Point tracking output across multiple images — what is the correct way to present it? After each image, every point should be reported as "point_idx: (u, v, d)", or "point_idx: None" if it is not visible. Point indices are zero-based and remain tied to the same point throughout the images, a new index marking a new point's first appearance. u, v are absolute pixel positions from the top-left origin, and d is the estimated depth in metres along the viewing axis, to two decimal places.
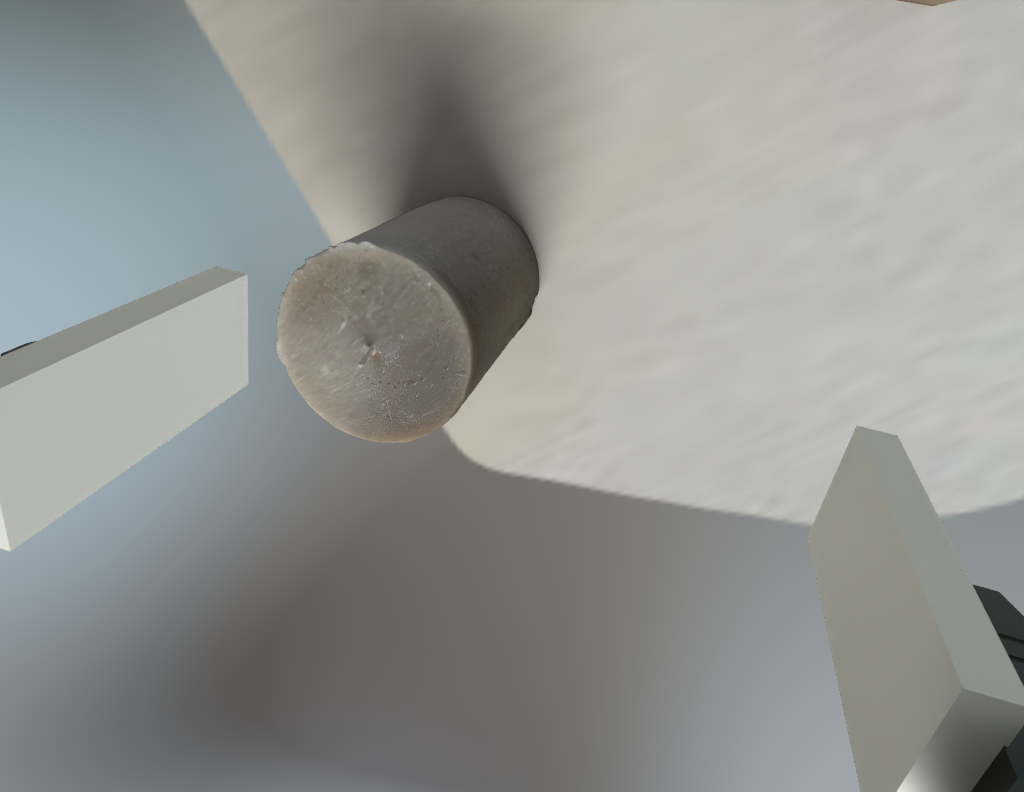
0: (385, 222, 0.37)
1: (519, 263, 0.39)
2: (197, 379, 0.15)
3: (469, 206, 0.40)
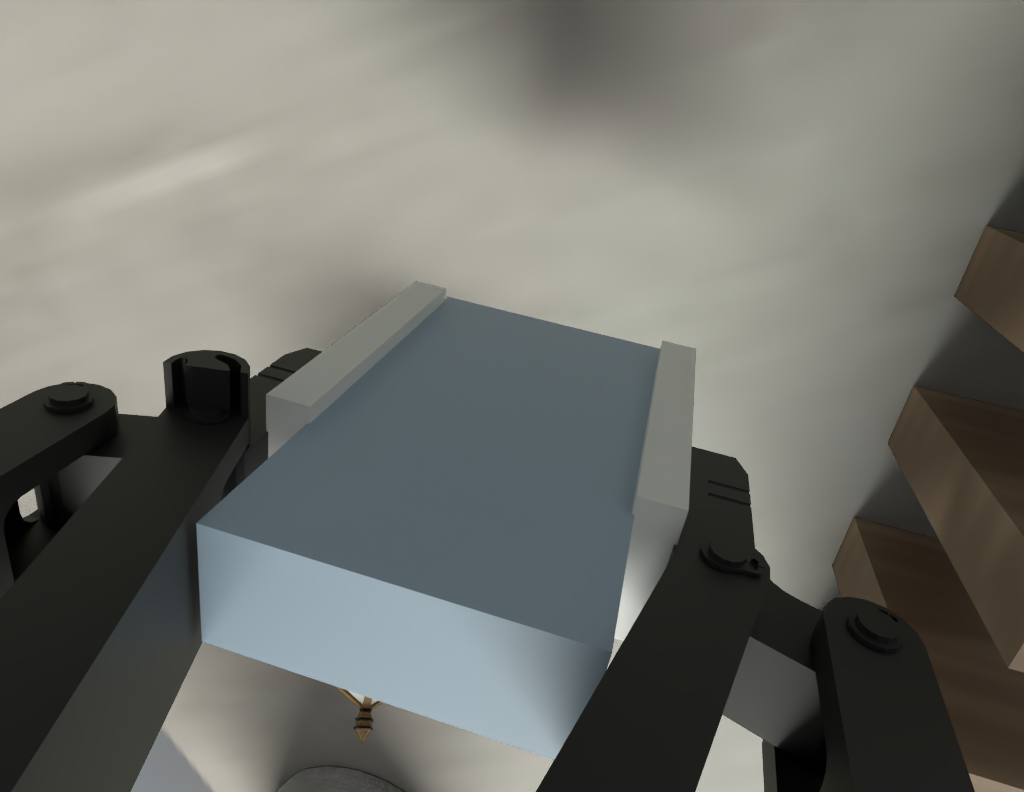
0: None
1: None
2: None
3: None
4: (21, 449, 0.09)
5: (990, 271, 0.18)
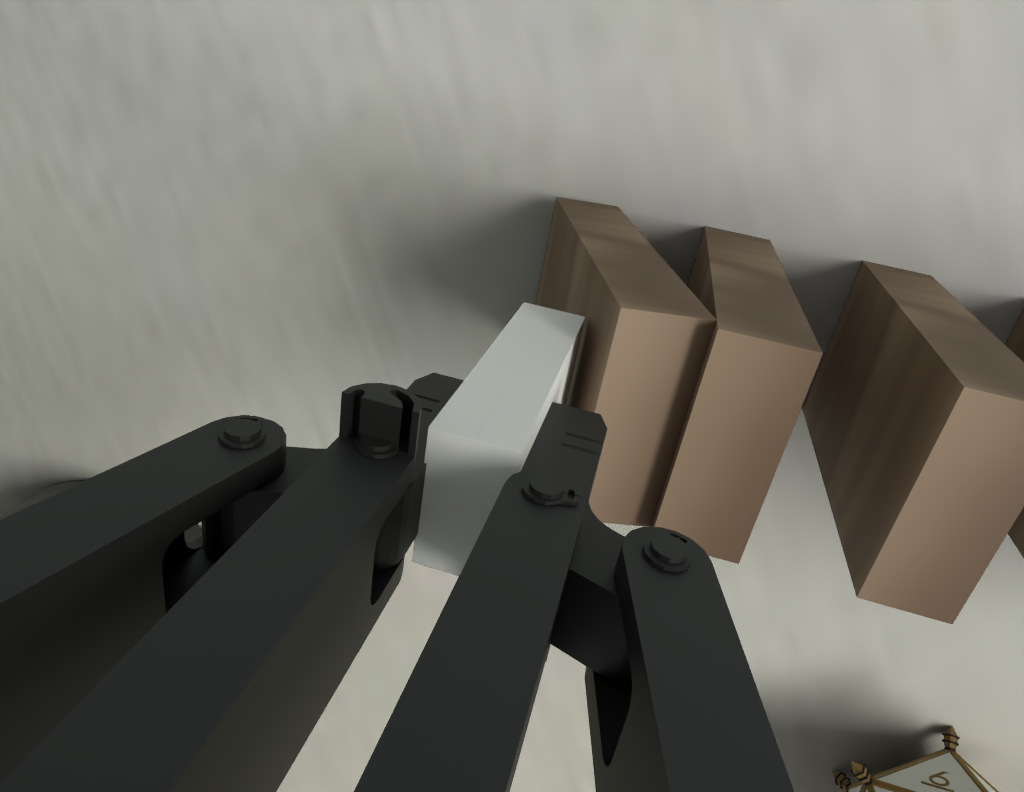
0: None
1: None
2: None
3: None
4: (189, 484, 0.09)
5: None
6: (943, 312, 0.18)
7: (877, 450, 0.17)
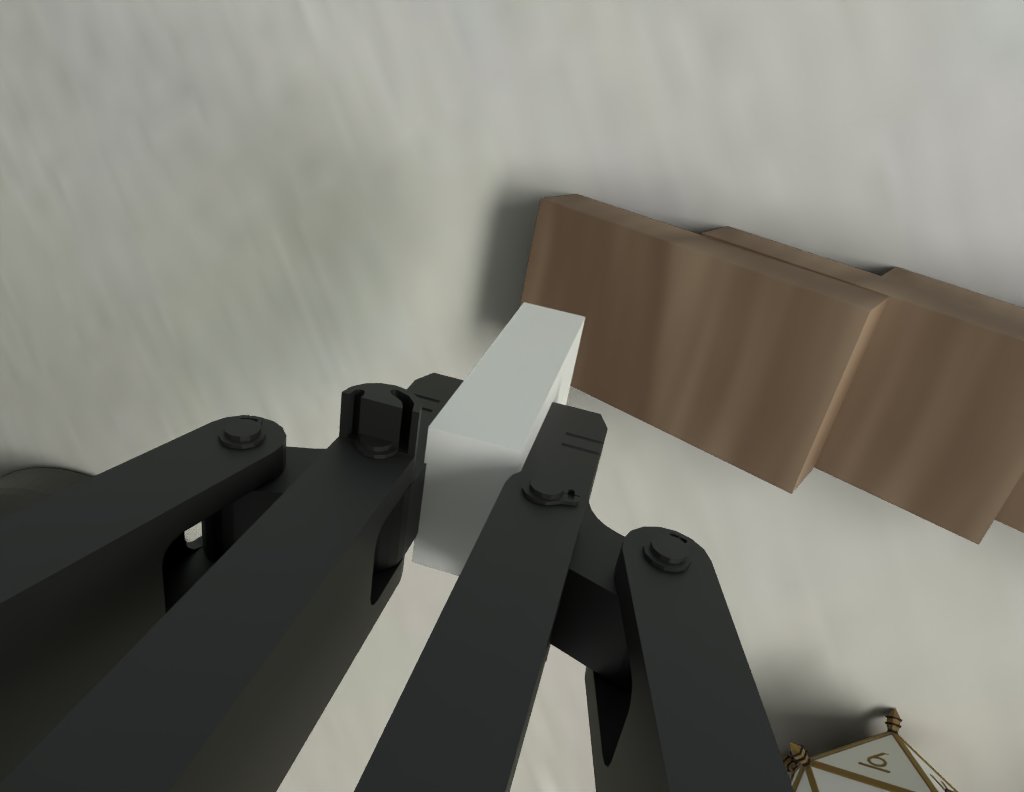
0: None
1: None
2: None
3: None
4: (189, 484, 0.09)
5: None
6: None
7: None
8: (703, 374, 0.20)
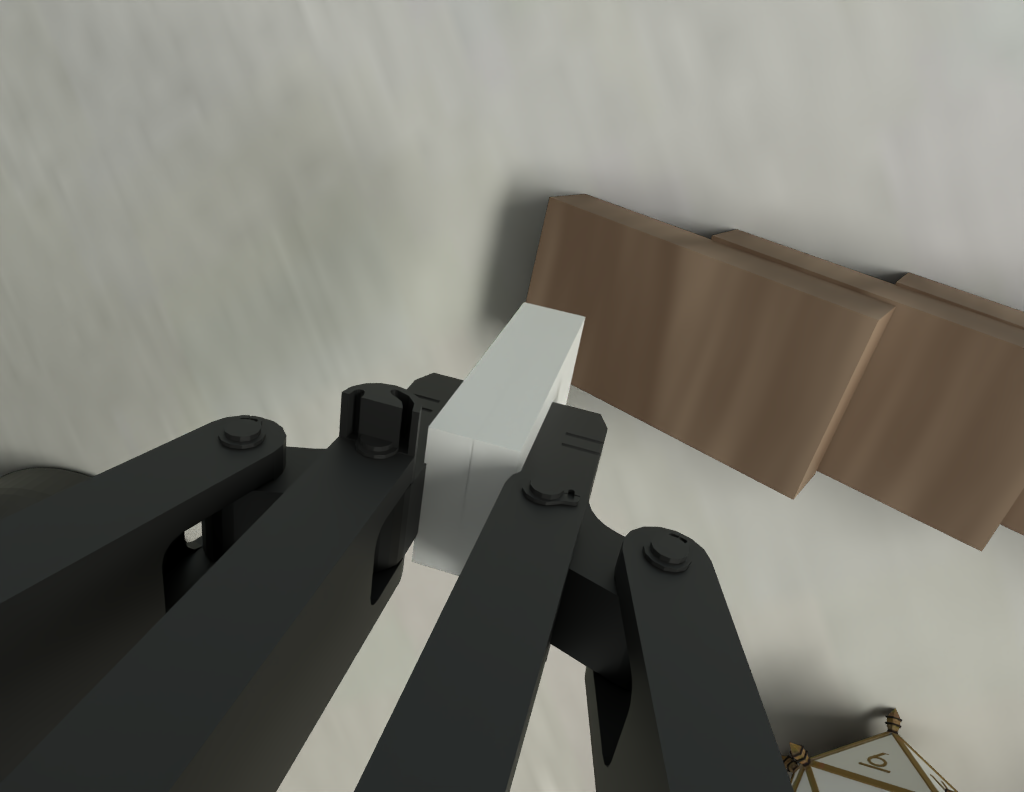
0: None
1: None
2: None
3: None
4: (189, 484, 0.09)
5: None
6: None
7: None
8: (708, 378, 0.20)
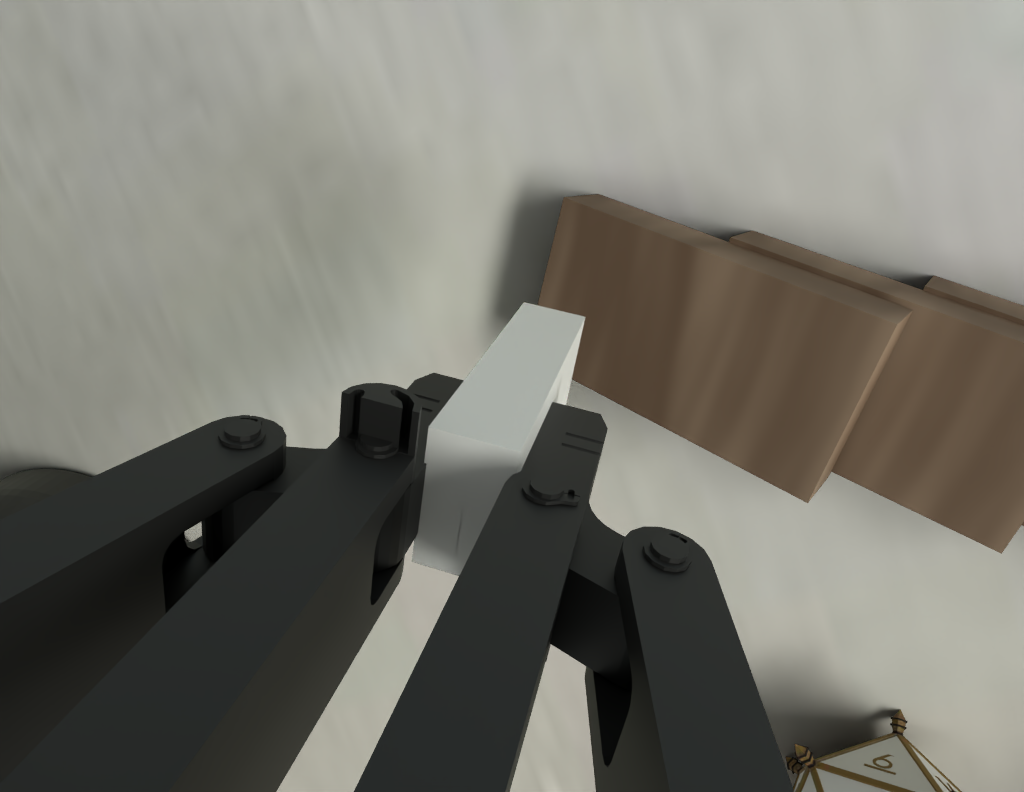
0: None
1: None
2: None
3: None
4: (189, 484, 0.09)
5: None
6: None
7: None
8: (723, 380, 0.20)
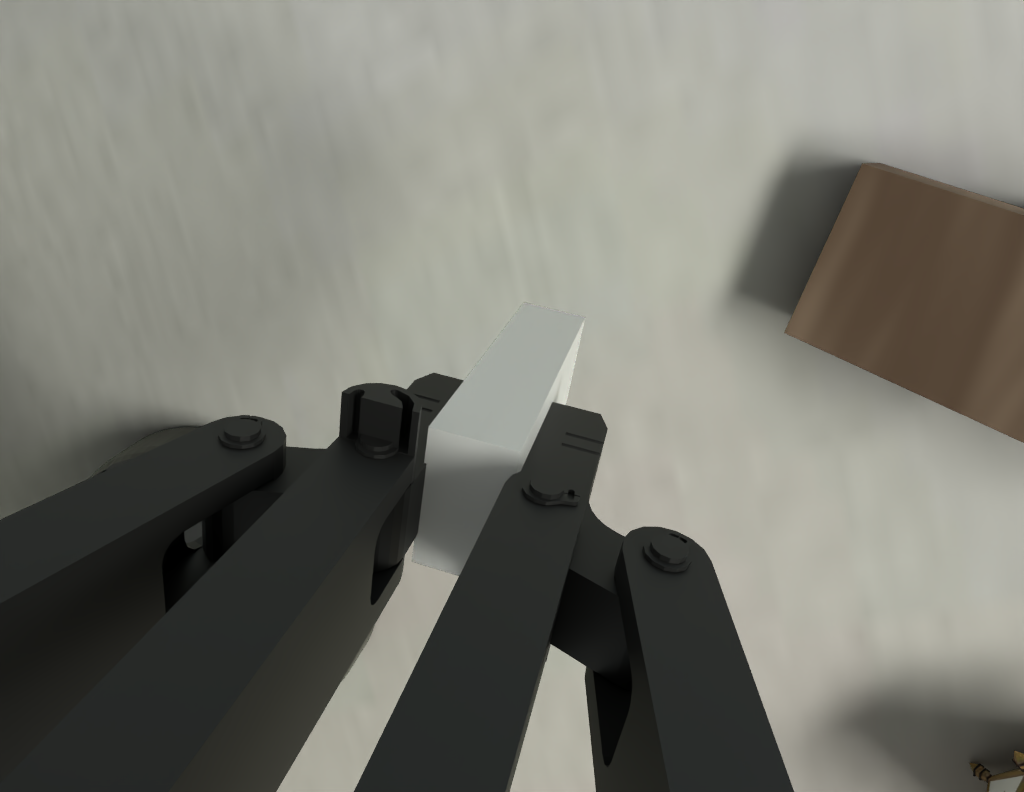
0: None
1: None
2: None
3: None
4: (189, 484, 0.09)
5: None
6: None
7: None
8: None
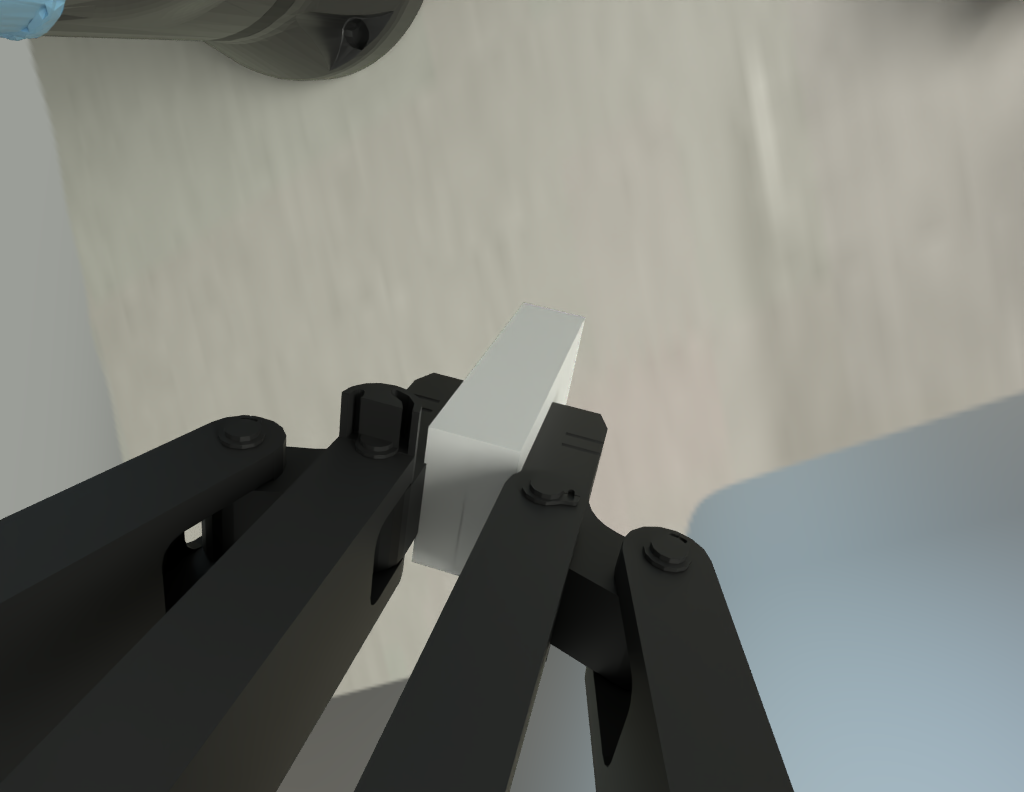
0: None
1: None
2: None
3: None
4: (189, 484, 0.09)
5: None
6: None
7: None
8: None
